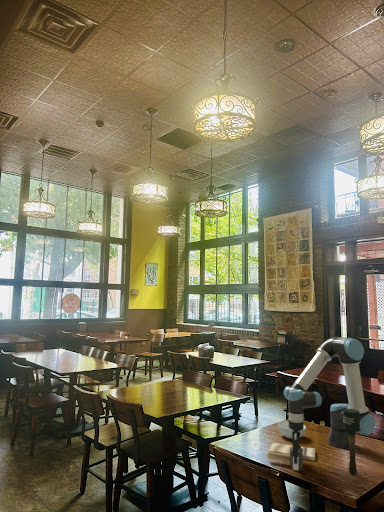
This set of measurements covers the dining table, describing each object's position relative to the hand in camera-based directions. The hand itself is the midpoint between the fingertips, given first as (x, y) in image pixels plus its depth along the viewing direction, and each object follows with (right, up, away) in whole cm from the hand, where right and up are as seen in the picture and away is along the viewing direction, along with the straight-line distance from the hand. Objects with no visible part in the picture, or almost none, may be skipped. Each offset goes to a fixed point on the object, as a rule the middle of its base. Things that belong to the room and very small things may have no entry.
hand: (296, 465), depth 196 cm
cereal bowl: (+9, -6, +43) cm, 44 cm away
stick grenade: (+26, 0, -7) cm, 27 cm away
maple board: (+2, -2, +17) cm, 17 cm away
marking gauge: (-5, 0, +2) cm, 6 cm away
